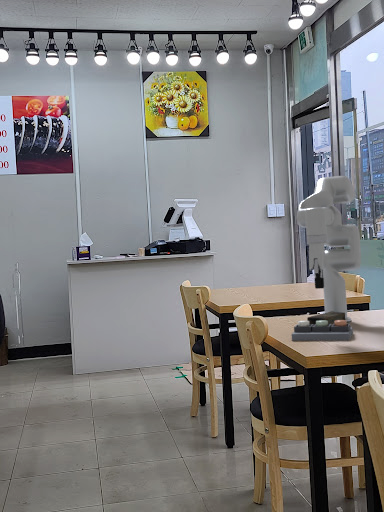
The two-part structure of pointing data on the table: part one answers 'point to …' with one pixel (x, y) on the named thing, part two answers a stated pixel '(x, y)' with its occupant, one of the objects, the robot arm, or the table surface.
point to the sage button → (321, 323)
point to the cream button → (303, 324)
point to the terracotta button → (340, 323)
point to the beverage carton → (327, 317)
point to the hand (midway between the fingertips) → (319, 288)
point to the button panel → (322, 332)
